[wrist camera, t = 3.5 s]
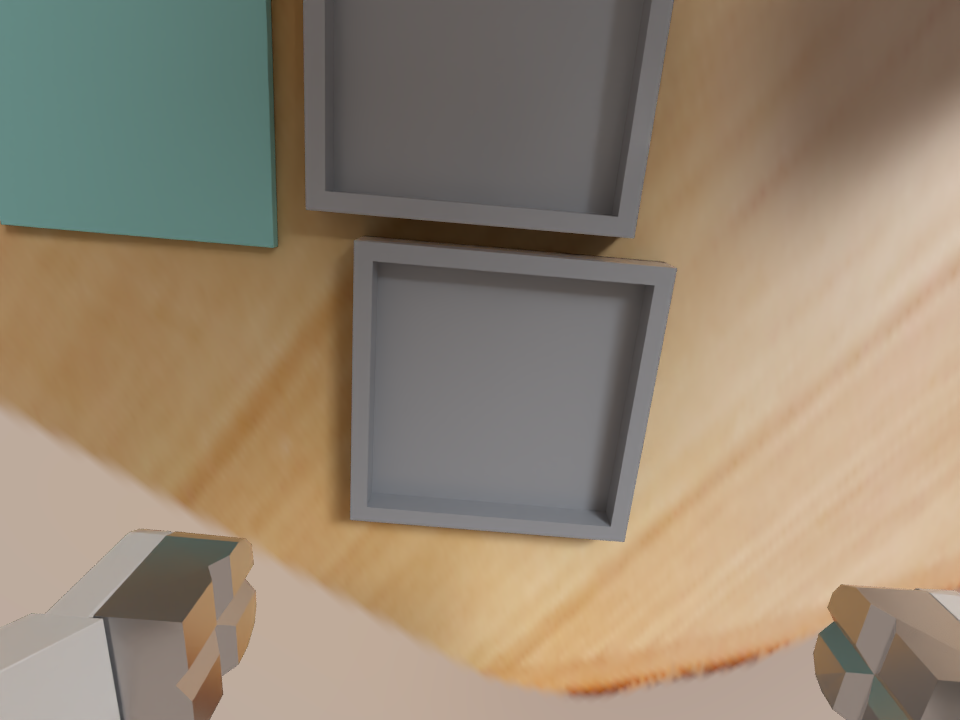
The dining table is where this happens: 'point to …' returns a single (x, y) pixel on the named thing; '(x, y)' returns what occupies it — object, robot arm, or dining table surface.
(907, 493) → the dining table surface
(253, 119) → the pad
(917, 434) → the dining table surface
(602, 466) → the dish
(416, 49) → the dish
